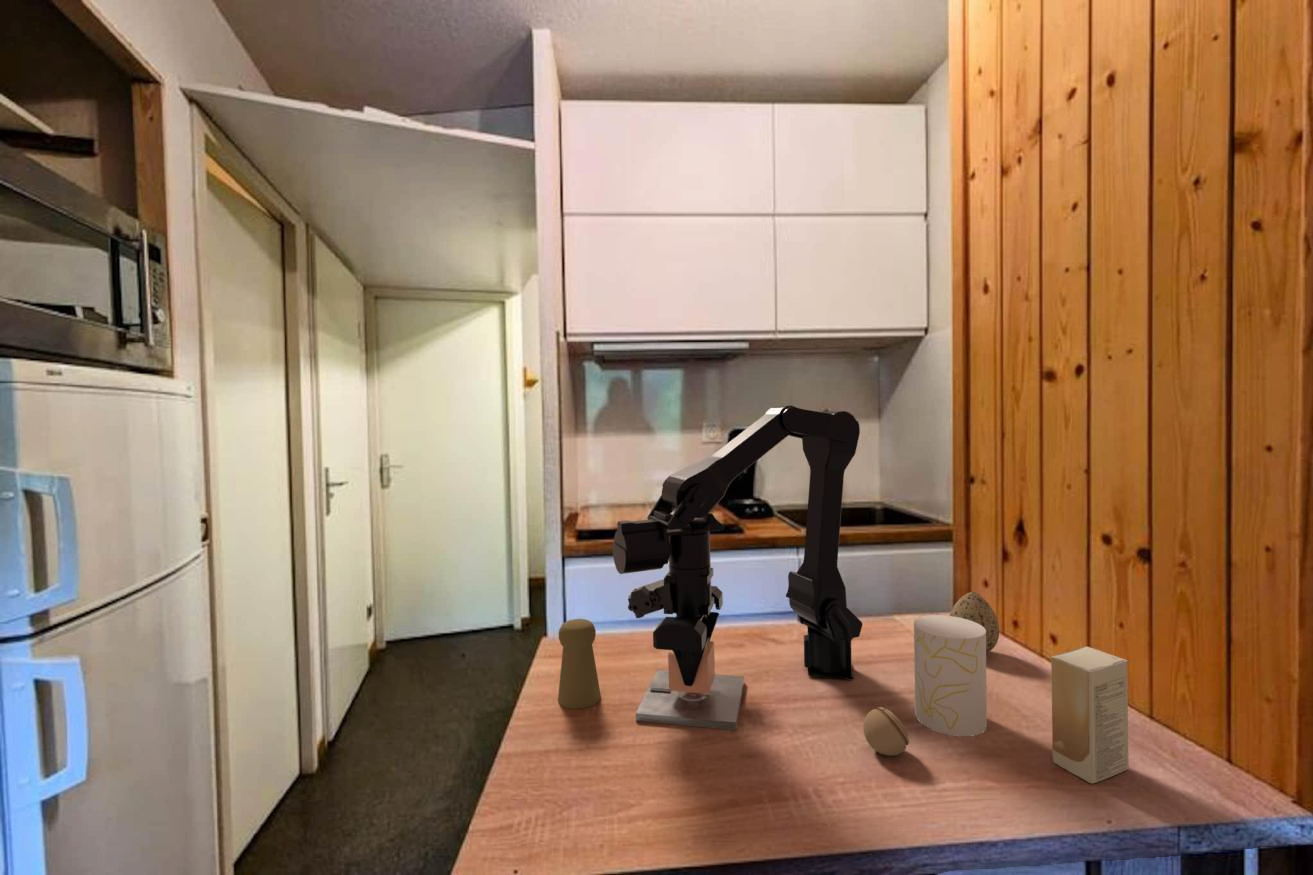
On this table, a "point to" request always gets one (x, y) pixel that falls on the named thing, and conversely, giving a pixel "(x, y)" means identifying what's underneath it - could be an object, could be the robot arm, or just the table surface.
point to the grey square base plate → (693, 703)
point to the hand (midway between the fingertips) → (692, 675)
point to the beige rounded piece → (885, 732)
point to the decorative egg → (978, 616)
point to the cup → (950, 674)
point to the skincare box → (1090, 713)
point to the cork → (578, 665)
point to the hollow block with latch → (702, 677)
